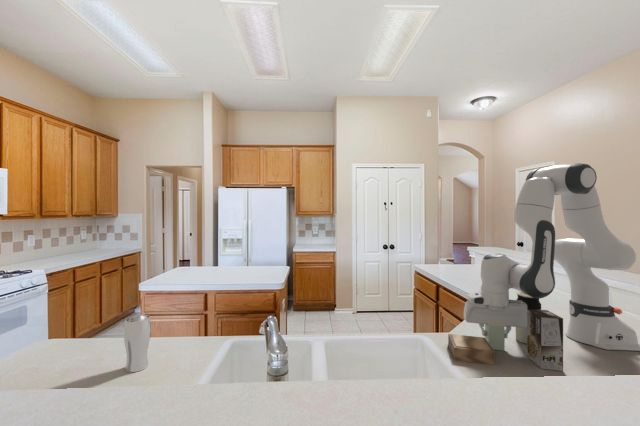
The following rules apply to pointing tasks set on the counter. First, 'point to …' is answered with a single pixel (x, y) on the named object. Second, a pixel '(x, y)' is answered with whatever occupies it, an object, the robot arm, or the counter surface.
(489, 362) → the square wooden tray
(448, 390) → the counter surface
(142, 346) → the beer glass
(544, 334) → the coffee box
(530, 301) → the travel mug
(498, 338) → the tea tin
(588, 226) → the robot arm
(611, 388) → the counter surface
